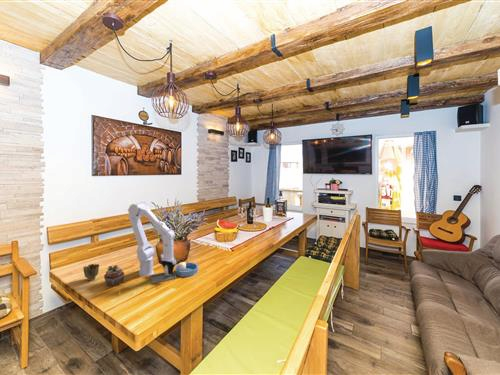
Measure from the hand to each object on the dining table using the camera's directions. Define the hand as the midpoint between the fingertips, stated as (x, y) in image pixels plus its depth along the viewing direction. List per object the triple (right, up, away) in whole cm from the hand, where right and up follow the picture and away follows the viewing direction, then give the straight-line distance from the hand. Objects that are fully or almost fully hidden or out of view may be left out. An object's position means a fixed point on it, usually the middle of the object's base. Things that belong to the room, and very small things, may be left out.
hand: (168, 272), depth 134 cm
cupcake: (-27, -3, -10) cm, 29 cm away
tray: (-2, -2, -3) cm, 4 cm away
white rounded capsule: (+7, -1, +4) cm, 8 cm away
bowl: (+10, -2, +6) cm, 11 cm away
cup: (-42, -2, -7) cm, 42 cm away
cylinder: (0, -2, 0) cm, 2 cm away
